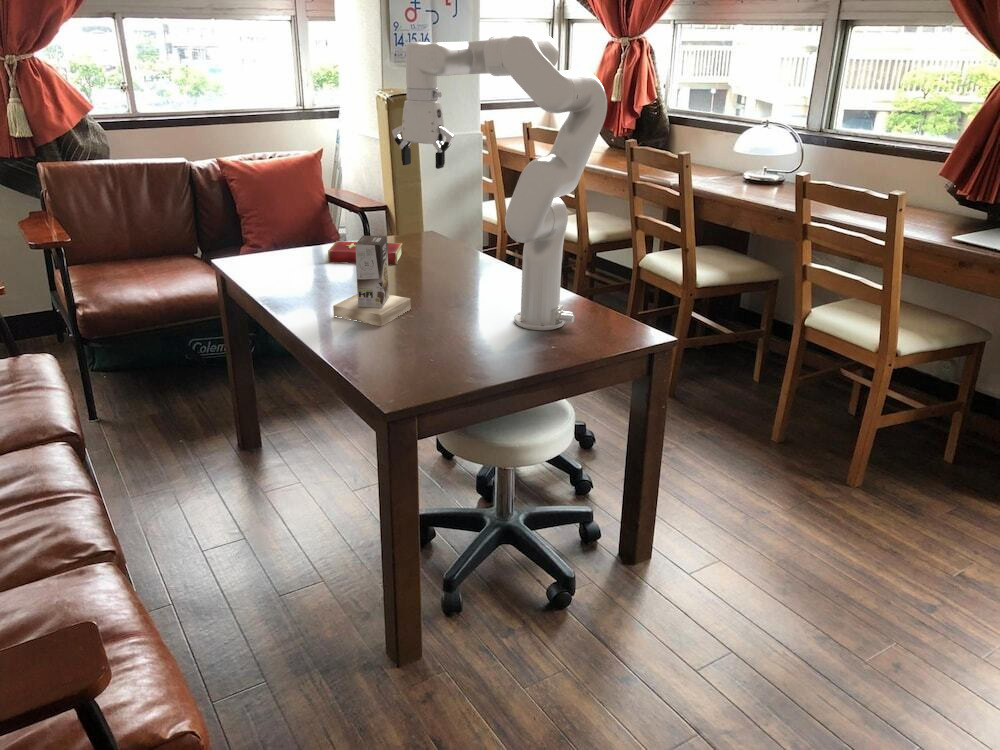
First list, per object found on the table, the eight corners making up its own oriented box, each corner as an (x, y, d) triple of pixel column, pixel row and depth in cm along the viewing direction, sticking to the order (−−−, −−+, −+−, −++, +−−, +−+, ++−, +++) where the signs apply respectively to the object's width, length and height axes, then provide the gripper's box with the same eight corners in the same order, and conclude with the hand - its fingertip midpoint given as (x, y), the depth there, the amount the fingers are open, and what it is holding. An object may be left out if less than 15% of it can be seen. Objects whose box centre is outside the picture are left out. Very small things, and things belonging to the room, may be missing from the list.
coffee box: (383, 308, 201) (380, 244, 194) (357, 307, 201) (354, 243, 195) (390, 296, 209) (388, 235, 203) (365, 295, 209) (362, 234, 203)
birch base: (410, 309, 210) (410, 298, 208) (381, 326, 198) (381, 314, 197) (365, 301, 215) (364, 290, 214) (333, 317, 203) (333, 305, 202)
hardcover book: (397, 265, 247) (396, 252, 246) (328, 263, 248) (327, 250, 246) (402, 255, 258) (402, 242, 256) (337, 253, 259) (336, 240, 257)
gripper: (460, 96, 200) (459, 167, 207) (399, 92, 207) (401, 161, 214) (445, 99, 194) (446, 171, 201) (383, 94, 201) (386, 165, 208)
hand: (423, 166), depth 207 cm, fingers open, 9 cm apart
